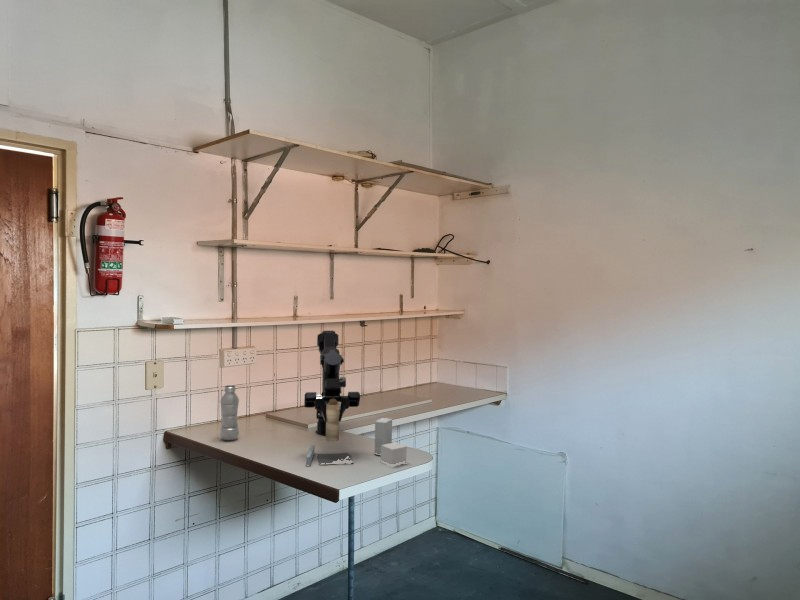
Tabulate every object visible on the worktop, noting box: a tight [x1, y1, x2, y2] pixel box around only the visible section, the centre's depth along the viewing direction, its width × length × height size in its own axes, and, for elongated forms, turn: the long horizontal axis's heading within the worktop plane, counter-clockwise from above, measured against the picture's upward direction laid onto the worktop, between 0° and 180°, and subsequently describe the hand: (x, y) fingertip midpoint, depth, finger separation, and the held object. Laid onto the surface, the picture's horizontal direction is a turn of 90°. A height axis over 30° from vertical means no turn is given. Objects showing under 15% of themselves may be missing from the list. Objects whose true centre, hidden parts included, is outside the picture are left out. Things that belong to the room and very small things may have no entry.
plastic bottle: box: [219, 384, 240, 441], centre depth 216 cm, size 6×7×20 cm
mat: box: [316, 452, 352, 465], centre depth 196 cm, size 11×11×1 cm
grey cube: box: [380, 442, 407, 464], centre depth 194 cm, size 6×6×6 cm
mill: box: [325, 398, 341, 442], centre depth 195 cm, size 4×4×14 cm
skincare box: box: [374, 417, 393, 454], centre depth 203 cm, size 6×4×12 cm
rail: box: [305, 444, 316, 466], centre depth 195 cm, size 14×1×3 cm, turn 2°
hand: (332, 421), depth 194 cm, fingers closed on mill, 4 cm apart
